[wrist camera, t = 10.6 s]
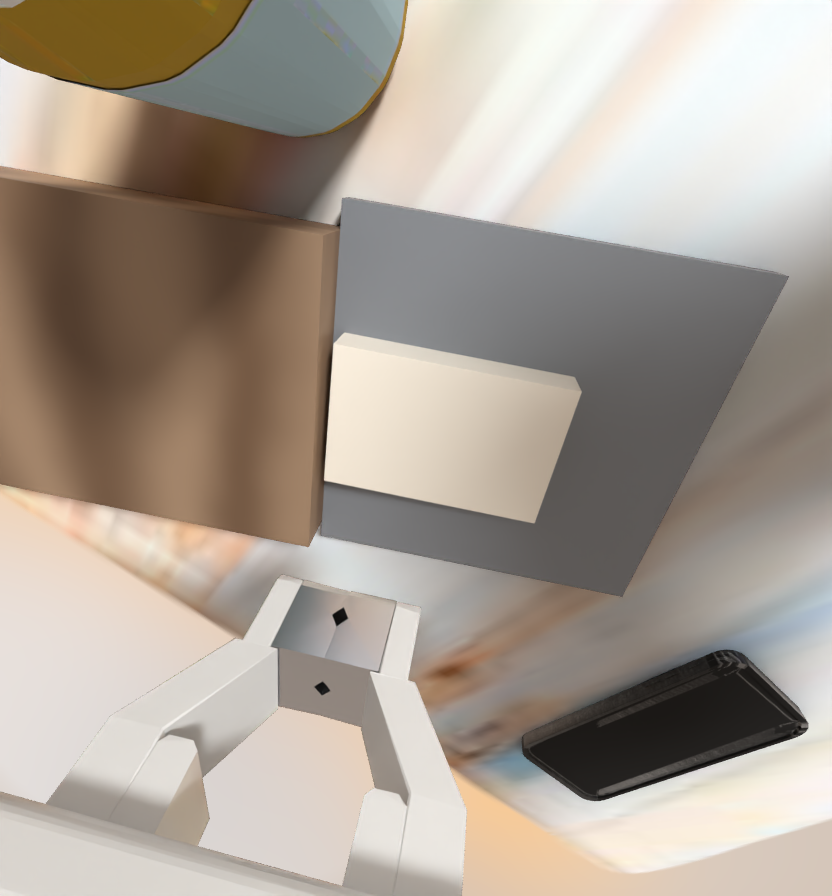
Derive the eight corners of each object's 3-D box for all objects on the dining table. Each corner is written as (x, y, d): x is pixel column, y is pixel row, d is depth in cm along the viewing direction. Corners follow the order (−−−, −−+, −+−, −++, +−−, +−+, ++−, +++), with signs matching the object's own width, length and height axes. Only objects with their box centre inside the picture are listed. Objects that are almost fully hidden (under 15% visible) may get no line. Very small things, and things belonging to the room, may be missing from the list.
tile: (574, 377, 18) (581, 391, 17) (531, 502, 21) (534, 523, 20) (344, 332, 18) (333, 343, 17) (333, 462, 21) (323, 480, 20)
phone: (816, 730, 26) (590, 805, 33) (805, 711, 27) (587, 787, 34) (738, 654, 24) (513, 749, 31) (728, 636, 25) (512, 732, 32)
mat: (773, 271, 16) (789, 276, 15) (617, 581, 24) (622, 596, 23) (349, 197, 17) (342, 198, 16) (326, 523, 24) (321, 535, 23)
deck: (347, 227, 17) (322, 235, 15) (328, 507, 24) (308, 547, 21) (-112, 146, 18) (-213, 139, 15) (-10, 439, 25) (-69, 469, 22)
